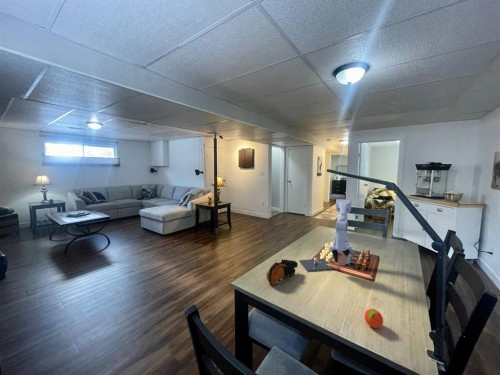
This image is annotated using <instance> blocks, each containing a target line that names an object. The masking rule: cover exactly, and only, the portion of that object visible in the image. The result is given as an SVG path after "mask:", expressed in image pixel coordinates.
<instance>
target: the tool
mask: <svg viewBox="0 0 500 375" xmlns="http://www.w3.org/2000/svg"><path fill="white" fill-rule="evenodd" d="M298 264H299V263H298V262H297V261H296V260H289V259H281V261H280V262H277V261H275V262H274V263H273V264H272V265H271V266H270V267H269V269H268V271H267V273H266V276H265V277H266V280H267V281H268V283H269V284H271V285H272V286H276V285H277V284H278V283H277V282H281V280H282V279H283V278H290V275H291V276H293V275H295V274H296V268H298V266H299V265H298Z"/></svg>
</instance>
